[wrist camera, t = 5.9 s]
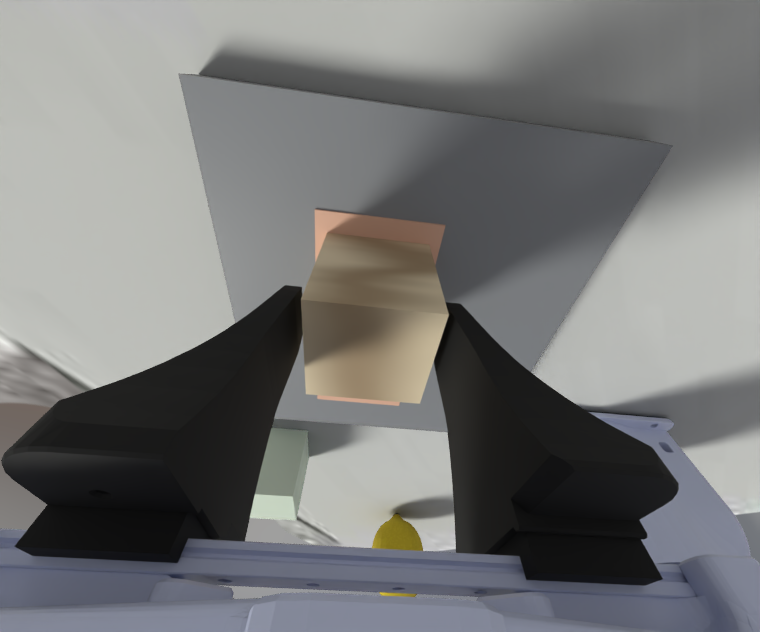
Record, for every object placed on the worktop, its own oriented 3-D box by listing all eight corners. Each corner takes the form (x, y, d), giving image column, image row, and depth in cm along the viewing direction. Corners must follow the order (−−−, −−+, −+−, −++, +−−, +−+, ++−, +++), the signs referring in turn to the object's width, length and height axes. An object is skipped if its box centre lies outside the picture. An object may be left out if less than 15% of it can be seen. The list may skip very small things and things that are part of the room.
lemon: (395, 526, 37) (397, 617, 31) (362, 513, 35) (358, 609, 28) (430, 514, 35) (440, 610, 28) (397, 500, 32) (401, 601, 26)
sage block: (307, 429, 24) (292, 496, 20) (309, 456, 27) (296, 520, 23) (252, 425, 24) (226, 492, 20) (259, 453, 27) (237, 517, 23)
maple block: (429, 244, 13) (448, 314, 9) (411, 323, 16) (419, 403, 12) (327, 232, 13) (301, 299, 9) (326, 314, 15) (305, 394, 11)
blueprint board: (649, 140, 12) (675, 146, 11) (485, 421, 23) (490, 436, 22) (197, 74, 11) (176, 73, 10) (262, 402, 22) (256, 418, 21)
